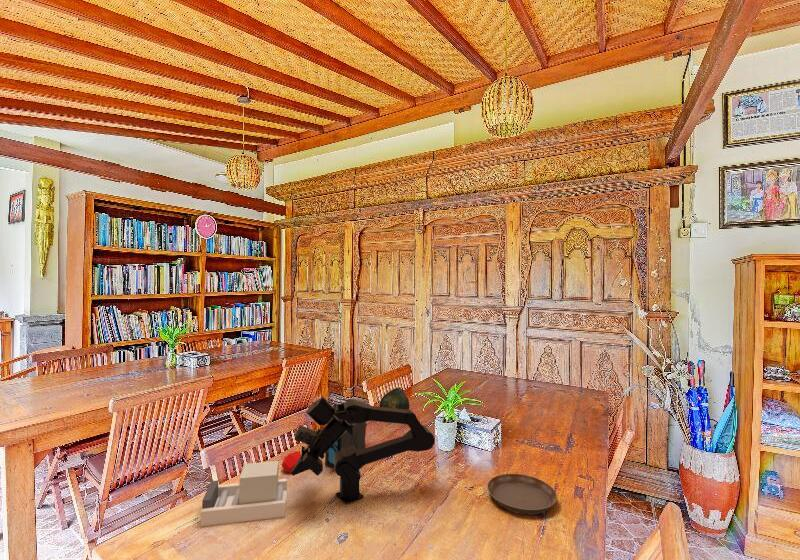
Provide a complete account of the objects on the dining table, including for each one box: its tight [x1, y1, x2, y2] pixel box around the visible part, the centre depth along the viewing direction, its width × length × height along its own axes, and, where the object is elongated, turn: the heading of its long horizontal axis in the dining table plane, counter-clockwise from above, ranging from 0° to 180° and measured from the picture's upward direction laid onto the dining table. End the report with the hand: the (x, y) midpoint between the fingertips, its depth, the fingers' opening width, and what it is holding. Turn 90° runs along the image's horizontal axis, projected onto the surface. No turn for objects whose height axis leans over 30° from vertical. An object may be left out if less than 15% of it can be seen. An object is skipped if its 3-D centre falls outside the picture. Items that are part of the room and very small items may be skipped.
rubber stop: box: [201, 480, 219, 510], centre depth 117 cm, size 2×11×5 cm, turn 13°
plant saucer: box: [486, 473, 558, 516], centre depth 126 cm, size 21×21×3 cm
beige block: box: [239, 460, 280, 505], centre depth 120 cm, size 10×9×8 cm
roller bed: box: [200, 478, 288, 527], centre depth 119 cm, size 22×14×4 cm, turn 103°
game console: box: [324, 420, 368, 468], centre depth 154 cm, size 28×6×15 cm, turn 160°
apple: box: [281, 450, 301, 474], centre depth 143 cm, size 7×7×8 cm
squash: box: [379, 387, 410, 410], centre depth 199 cm, size 14×15×15 cm
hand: (291, 474), depth 122 cm, fingers closed
